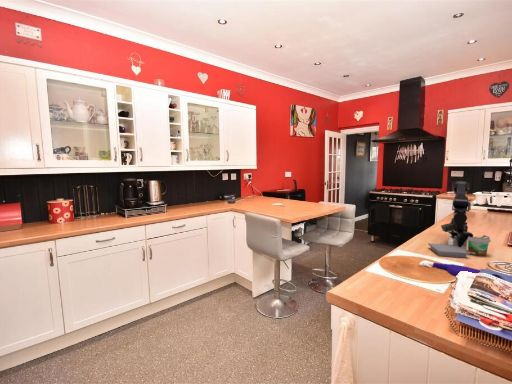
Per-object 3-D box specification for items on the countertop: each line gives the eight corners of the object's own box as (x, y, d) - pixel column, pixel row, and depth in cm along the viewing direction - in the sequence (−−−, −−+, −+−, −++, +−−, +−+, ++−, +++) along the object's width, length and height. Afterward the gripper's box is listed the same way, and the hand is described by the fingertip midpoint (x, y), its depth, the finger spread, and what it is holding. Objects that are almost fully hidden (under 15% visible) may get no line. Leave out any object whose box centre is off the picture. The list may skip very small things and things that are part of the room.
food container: (478, 258, 134) (480, 239, 133) (466, 254, 140) (467, 236, 138) (495, 255, 137) (497, 237, 136) (482, 252, 143) (484, 234, 142)
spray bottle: (489, 271, 111) (425, 256, 130) (485, 278, 104) (417, 262, 123) (489, 277, 111) (424, 262, 130) (484, 285, 104) (417, 268, 123)
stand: (428, 248, 150) (428, 243, 149) (455, 250, 146) (455, 245, 146) (438, 256, 136) (439, 251, 136) (469, 258, 133) (469, 253, 133)
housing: (448, 246, 154) (449, 234, 153) (461, 246, 152) (462, 235, 151) (452, 248, 149) (453, 236, 148) (466, 249, 147) (467, 237, 146)
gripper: (436, 216, 160) (434, 240, 161) (451, 222, 142) (449, 249, 143) (457, 216, 157) (455, 241, 159) (475, 223, 139) (472, 251, 141)
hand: (457, 245), depth 150 cm, fingers closed on housing, 5 cm apart
